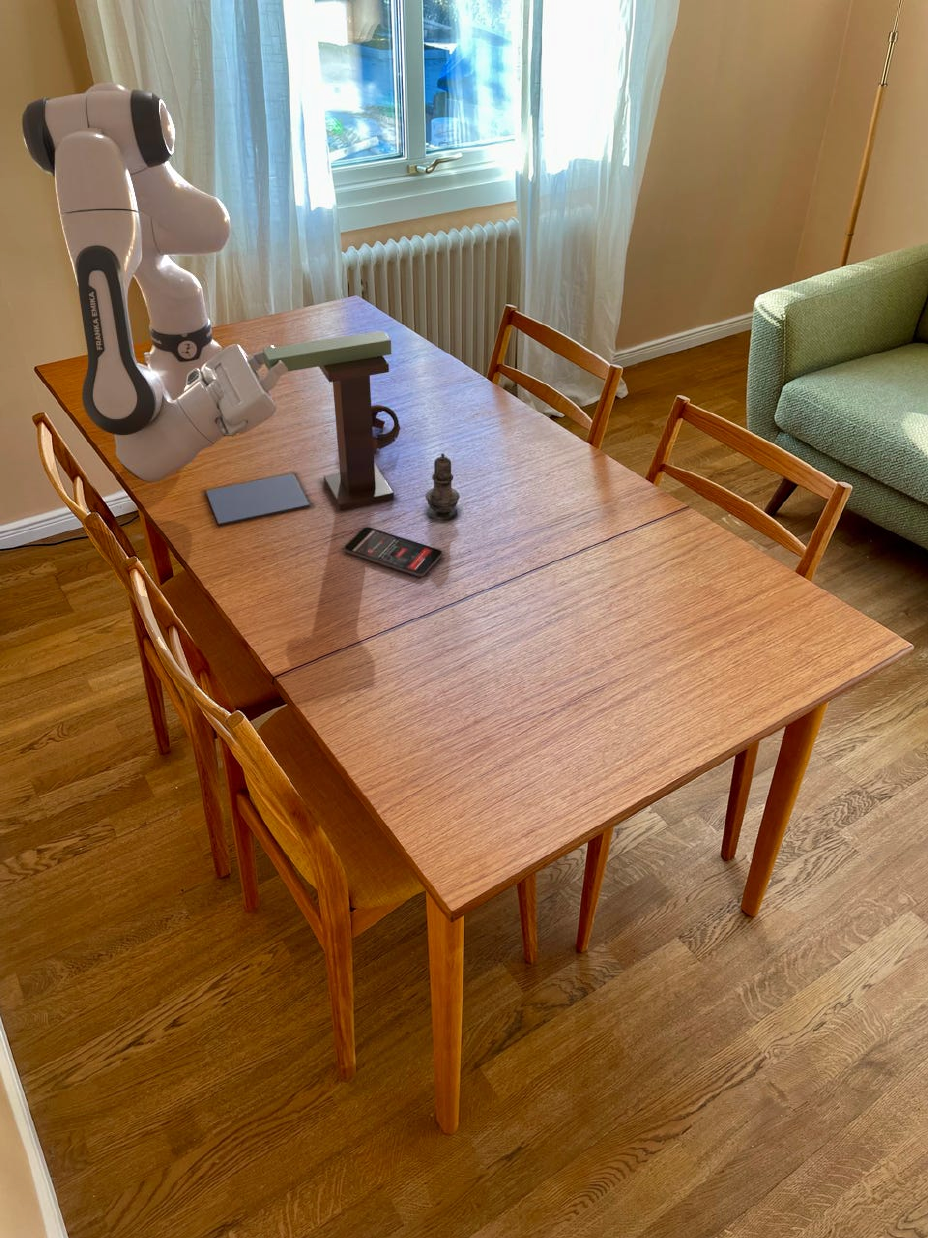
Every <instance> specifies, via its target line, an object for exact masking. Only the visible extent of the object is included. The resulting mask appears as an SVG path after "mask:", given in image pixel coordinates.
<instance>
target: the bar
mask: <svg viewBox="0 0 928 1238" xmlns="http://www.w3.org/2000/svg"><path fill="white" fill-rule="evenodd" d="M262 351H263V356H264V364H263V365H264V366H265V367H266V369H267V372H268V371H269V370H270V369H271V368H272V366H271V365H272V364H273V363H274V362H276V361H277V360H279V359H281V360H282V361H283V362H284V364H285V365H286V366H287V368H288V371H287V372H286V373H288V372H293V371H294V372H295V371H301V370H305V369H311V368H312V369H313V368H317V367H318V368H319V366H324V365H330V364H336V363H342V362H348V361H354V360H360V359H366V358H372V357H378V356H383V357H384V356H389V355H392V340H391V338H390V336H388V334H387V333H386V332H385V331H384V330H377V331H376V330H375V331H370V332H363V333H357V334H351V335H344V336H337V337H331V338H325V339H319V340H313V341H305V342H300V343H294V344H293V343H292V344H288V345H287V344H286V345H281V346H275V347H274V348H268V349H266V348H262Z"/></svg>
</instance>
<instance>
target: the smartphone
mask: <svg viewBox="0 0 928 1238" xmlns="http://www.w3.org/2000/svg"><path fill="white" fill-rule="evenodd" d="M343 550H344V552H345V553H347V554H350V555H353V556H355V557H359V558H362V559H365V560H368V561H371V562H374V563H377V564H379V565H384V566H386V567H389V568H392V569H395V570H398V571H400V572H405V573H407V574H410V575H413V576H416V577H419V578H420V577H424V576H425V575H426V574H427V573H428V572H429V571H430V570H431V569H432V568H433V566H434V565H435V564H436V563H437V562H438V561H439V559H441V557H442V556H443V551H442V550H441V549H439V548H435V547H432V546H430V545H426V544H423V543H420V542H417V541H414V540H411V539H408V538H404V537H402V536H397V535H395V534H392V533H389V532H386V531H383V530H379V529H377V528H373V527H370V526H365V527H363V528H362V529H361V530H359V532H358V533H357V534H356V535H354V537H353V538H352V539H351V540H350V541H349V542H348V543H347V544H345V546H344V548H343Z"/></svg>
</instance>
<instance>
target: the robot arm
mask: <svg viewBox="0 0 928 1238" xmlns="http://www.w3.org/2000/svg"><path fill="white" fill-rule="evenodd" d="M21 121H22V122H21V123H22V125H21V127H22V135H23V141H24V144H25V146H26V148H27V151H28V153H29V155H30V157H31V159H32V161H33V162H34V164H35V165H36V166H37V167H39V168H40V169H41V170H42V171H43V172H44V173H46V174H49V175H52V177H53V178H54V180H55V191H56V192H55V193H56V200H57V205H58V213H59V217H60V223H61V228H62V232H63V237H64V240H65V244H66V248H67V251H68V255H69V258H70V262H71V265H72V269H73V273H74V276H75V277H74V278H75V280H76V284H77V289H78V296H79V303H80V309H81V316H82V322H83V330H84V337H85V343H86V351H87V369H86V374H85V378H84V382H83V386H82V393H81V397H82V405H83V408H84V411H85V413H86V415H87V416H88V418H89V419H90V420H91V422H92V423H93V424H94V425H95V426H96V427H98V428H99V429H101V430H102V431H104V432H105V433H108V434H112V435H114V436H113V437H114V443H115V456H116V459H117V460H118V462H119V463H120V464H121V466H122V467H123V468H124V469H125V470H126V471H128V473H130V474H131V475H132V476H134V477H135V478H137V479H139V480H141V481H143V482H146V483H158V482H161V481H164V480H165V479H167V478H169V477H171V476H173V475H174V474H176V473H177V472H179V471H180V470H182V469H183V468H184V467H186V466H187V465H189V464H190V463H191V462H193V461H194V460H195V458H197V456H198V455H199V453H200V452H201V451H203V450H204V449H206V448H209V447H212V446H213V445H215V444H216V443H217V442H219V441H220V440H221V439H223V438H224V437H236V436H237V435H243V434H245V433H247V432H250V431H251V430H253V429H255V428H256V427H258V426H259V425H262V424H263V423H264V422H266V421H267V420H268V419H270V418H271V417H273V416H274V414H275V412H276V411H277V409H278V408H277V405H276V403H275V402H274V400H273V398H272V397H271V394H270V391H271V390H272V389H274V388H275V386H276V385H277V383H278V381H279V380H280V379H281V377H282V376H284V375H285V374H287V373H288V372H289V371H288V368H287V366H286V365H285V364H284V362H283V361H282V360H281V359H279V360H277V361H276V362H274V363H273V364H272V365H271V366H272V368H271V369H270V370H269V371H268V370H267V372H266V373H265V374H262V375H260V374H259V372H258V371H259V370H260V369H261V368H262V365H265V364H264V356H263V350H260V351H256V352H253V353H251V354H250V355H248V354H247V353H246V351H245V350H244V349H243V348H242V347H241V345H239V344H238V343H234V344H231V345H228V346H227V347H225V348H222V346H221V345H220V344H219V343H218V342H217V341H215V340H214V339H213V329H212V325H211V321H210V319H209V317H208V316H207V309H206V304H205V298H204V292H203V287H202V285H201V283H200V282H199V280H198V279H197V277H196V276H195V275H194V274H193V273H191V272H190V271H187V270H185V269H183V268H181V267H179V266H178V265H177V264H176V263H174V261H172V259H171V258H170V257H169V256H174V257H175V256H176V257H200V256H205V255H212V254H215V253H220V252H222V251H223V250H224V249H225V248H226V246H227V244H228V242H229V240H230V238H231V232H232V224H231V219H230V215H229V212H228V210H227V208H226V207H225V205H224V204H223V203H222V201H220V199H218V197H215V196H212V195H210V194H208V193H206V192H204V191H201V190H200V189H198V188H196V187H195V186H193V185H192V184H191V183H189V182H188V181H187V180H185V178H184V177H182V176H181V175H180V174H178V172H177V171H176V170H175V169H174V168H173V166H172V165H171V164H170V161H169V160H170V159H171V157H172V156H173V154H174V149H175V148H174V145H175V134H176V133H175V127H174V122H173V119H172V116H171V113H169V110H168V108H167V107H166V104H165V102H164V101H163V100H162V99H161V98H160V97H159V96H158V95H156V94H155V93H154V92H151V91H147V90H142V89H132V91H130V90H129V89H128V88H127V87H125V86H123V85H122V84H120V83H116V82H113V81H112V82H110V81H107V82H106V81H104V82H98V83H96V84H93V85H91V86H90V87H89V88H87V90H86V91H85V92H81V93H75V94H68V95H64V96H59V97H55V98H50V97H49V96H48V97H43V98H40V99H36V100H34V101H31V102H29V103H28V104H27V106H26V107H25V109H24V111H23V113H22V117H21ZM133 278H134V279H135V280H136V282H137V284H138V286H139V288H140V290H141V294H142V296H143V299H144V302H145V306H146V309H147V310H146V311H147V314H148V319H149V326H148V328H149V337H150V339H151V340H150V341H151V344H152V345H151V347H150V351H149V352H144V353H143V356H144V362H145V364H146V365H145V364H143V363H139V362H138V361H137V358H136V354H135V348H134V342H133V341H134V340H133V335H132V329H131V328H132V327H131V321H130V314H129V308H128V295H129V294H128V292H129V288H130V285H131V282H132V279H133ZM268 348H274V345H272V344H269V346H267V347H265V349H268ZM287 371H288V372H287Z"/></svg>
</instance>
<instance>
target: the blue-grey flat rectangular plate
mask: <svg viewBox="0 0 928 1238" xmlns="http://www.w3.org/2000/svg"><path fill="white" fill-rule="evenodd" d="M205 494H206V496H207V499H208V502H209V504H210V507H211V509H212V512H213V515H214V517H215V520H216V522H217V524H218V525H217V526H223V525H228V524H233V523H238V522H242V521H243V522H244V521H247V520H251V519H256V518H261V517H266V516H270V515H275V514H281V513H284V512H288V511H294V510H298V509H304V508H307V507H310V503H309V501H308V499H307V496H306V495H305V492H303V489H302V487H301V485H300V484H299V481H298V480H297V478H296V476H295V474H294V472H293V473H286V474H282V475H276V476H271V477H267V478H262V479H258V480H257V479H256V480H252V481H251V480H250V481H246V482H242V483H237V484H231V485H226V486H223V487H218V488H212V489H207V490H205Z"/></svg>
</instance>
